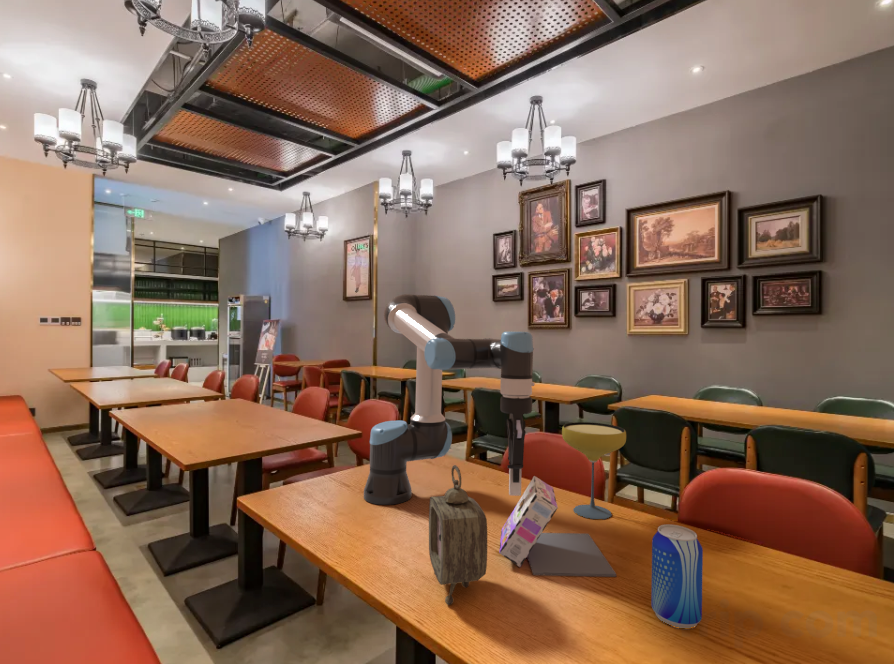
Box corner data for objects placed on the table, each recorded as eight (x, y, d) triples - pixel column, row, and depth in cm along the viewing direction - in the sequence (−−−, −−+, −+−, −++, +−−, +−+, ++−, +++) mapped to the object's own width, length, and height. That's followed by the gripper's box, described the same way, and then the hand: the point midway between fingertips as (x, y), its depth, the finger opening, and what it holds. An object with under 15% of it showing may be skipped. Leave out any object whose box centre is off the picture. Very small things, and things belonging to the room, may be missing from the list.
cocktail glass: (634, 512, 136) (636, 428, 136) (609, 531, 122) (610, 437, 122) (578, 496, 148) (579, 419, 148) (549, 512, 135) (550, 427, 135)
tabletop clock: (428, 572, 100) (429, 457, 100) (467, 568, 102) (469, 456, 102) (442, 611, 86) (444, 478, 86) (488, 606, 88) (490, 476, 88)
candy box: (520, 569, 102) (559, 507, 101) (497, 553, 103) (535, 492, 102) (520, 541, 116) (554, 487, 114) (500, 528, 116) (534, 474, 115)
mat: (519, 534, 119) (519, 532, 119) (588, 535, 119) (588, 533, 119) (533, 575, 99) (533, 572, 99) (616, 576, 99) (616, 574, 99)
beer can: (642, 604, 89) (643, 522, 89) (683, 603, 90) (684, 521, 90) (667, 633, 81) (668, 542, 81) (712, 631, 81) (713, 541, 81)
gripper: (537, 399, 103) (535, 504, 103) (527, 392, 116) (526, 485, 116) (503, 399, 103) (502, 504, 103) (497, 392, 116) (496, 485, 116)
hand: (514, 494), depth 109 cm, fingers closed
